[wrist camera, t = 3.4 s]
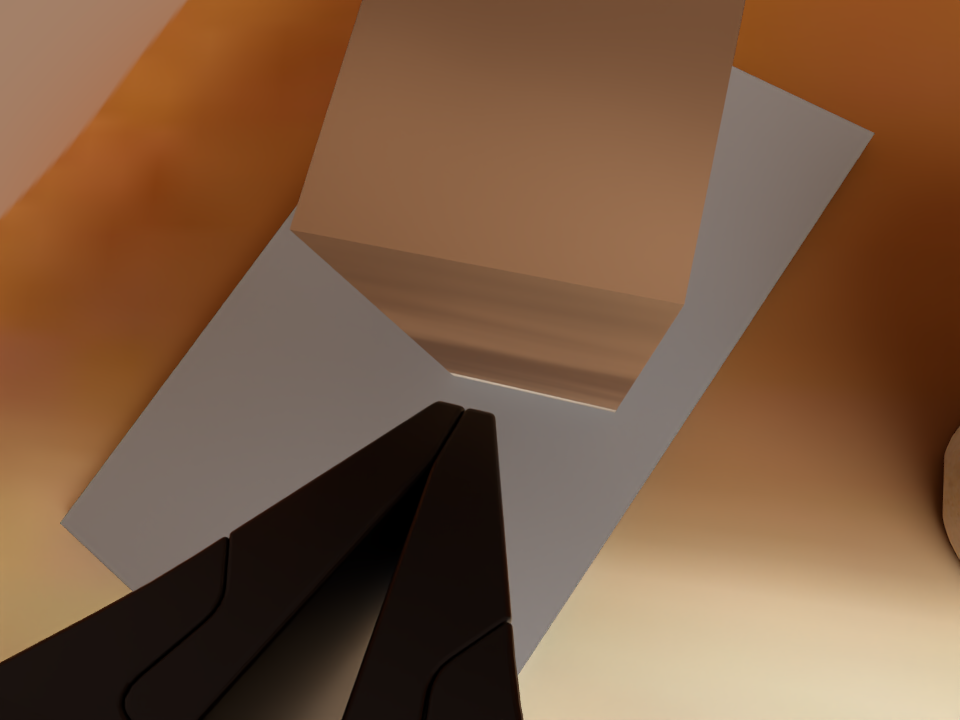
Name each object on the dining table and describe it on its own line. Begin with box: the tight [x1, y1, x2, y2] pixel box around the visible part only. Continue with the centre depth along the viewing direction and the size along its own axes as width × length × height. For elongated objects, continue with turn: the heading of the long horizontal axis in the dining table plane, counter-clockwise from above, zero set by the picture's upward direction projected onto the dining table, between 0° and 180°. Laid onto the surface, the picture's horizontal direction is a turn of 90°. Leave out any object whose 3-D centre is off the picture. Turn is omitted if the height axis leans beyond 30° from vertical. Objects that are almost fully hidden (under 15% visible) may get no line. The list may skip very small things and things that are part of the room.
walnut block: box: [290, 0, 745, 413], centre depth 12 cm, size 4×4×10 cm
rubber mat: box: [60, 66, 875, 676], centre depth 17 cm, size 22×13×1 cm, turn 145°
